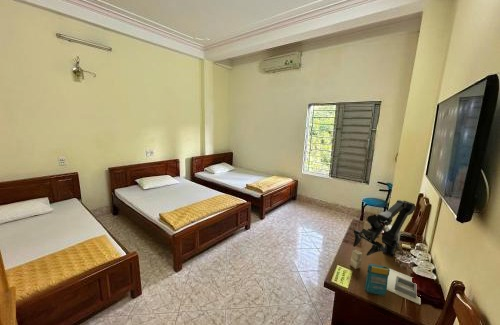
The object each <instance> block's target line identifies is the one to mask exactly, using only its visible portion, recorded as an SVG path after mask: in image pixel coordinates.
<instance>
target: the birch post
mask: <svg viewBox="0 0 500 325" xmlns="http://www.w3.org/2000/svg"><path fill="white" fill-rule="evenodd" d="M362 256H363V252H361V250H359V249H353V250H351V257H350V263H349V266H351V267H353V269H354V270H357V269H360V268H361V263H362Z"/></svg>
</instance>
